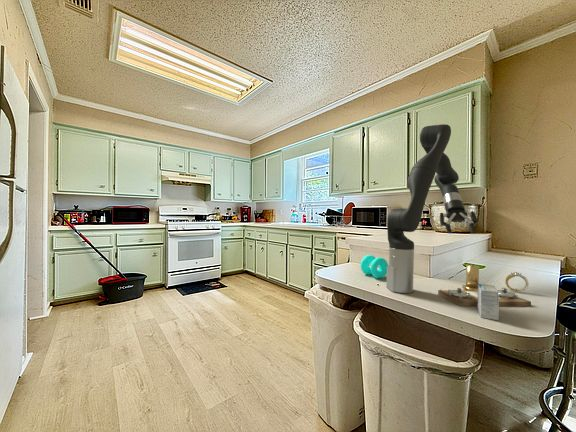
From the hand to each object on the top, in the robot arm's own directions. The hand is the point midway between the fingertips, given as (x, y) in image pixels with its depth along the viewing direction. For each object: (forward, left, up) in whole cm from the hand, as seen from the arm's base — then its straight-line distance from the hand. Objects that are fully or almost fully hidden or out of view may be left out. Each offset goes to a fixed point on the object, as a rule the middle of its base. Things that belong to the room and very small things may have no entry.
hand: (461, 232), depth 112 cm
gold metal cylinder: (-2, -10, -23) cm, 25 cm away
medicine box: (-16, -34, -23) cm, 44 cm away
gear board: (-7, -21, -23) cm, 32 cm away
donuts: (-35, +11, -23) cm, 44 cm away
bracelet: (+15, -12, -23) cm, 30 cm away
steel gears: (-7, -21, -22) cm, 31 cm away
